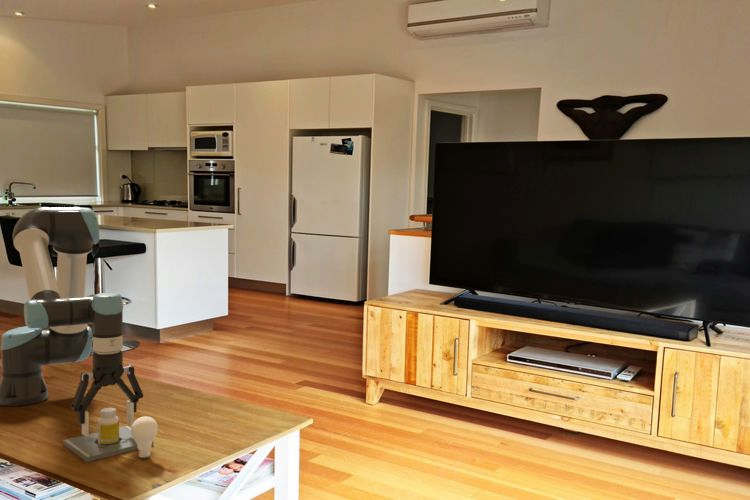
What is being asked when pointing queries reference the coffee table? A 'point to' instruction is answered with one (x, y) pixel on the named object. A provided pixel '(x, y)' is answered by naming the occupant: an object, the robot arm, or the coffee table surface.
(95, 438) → the socket board
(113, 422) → the supplement bottle
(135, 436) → the light bulb
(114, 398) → the coffee table surface
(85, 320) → the robot arm
